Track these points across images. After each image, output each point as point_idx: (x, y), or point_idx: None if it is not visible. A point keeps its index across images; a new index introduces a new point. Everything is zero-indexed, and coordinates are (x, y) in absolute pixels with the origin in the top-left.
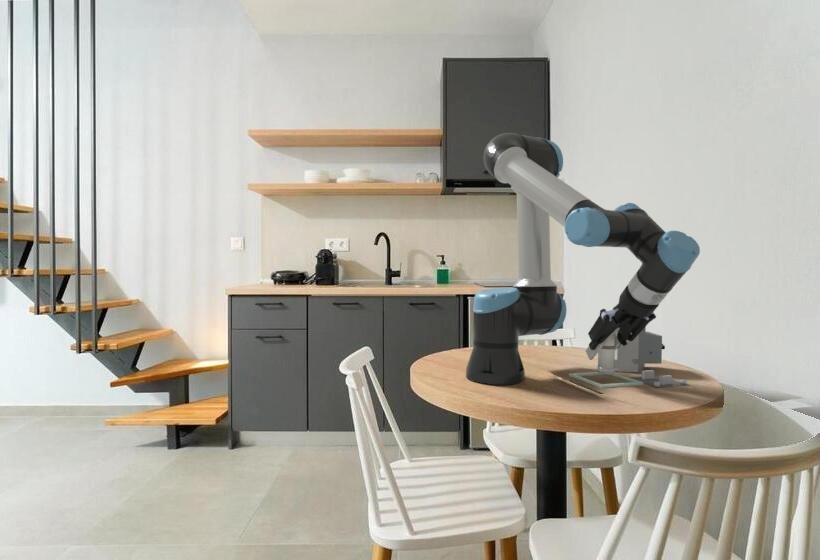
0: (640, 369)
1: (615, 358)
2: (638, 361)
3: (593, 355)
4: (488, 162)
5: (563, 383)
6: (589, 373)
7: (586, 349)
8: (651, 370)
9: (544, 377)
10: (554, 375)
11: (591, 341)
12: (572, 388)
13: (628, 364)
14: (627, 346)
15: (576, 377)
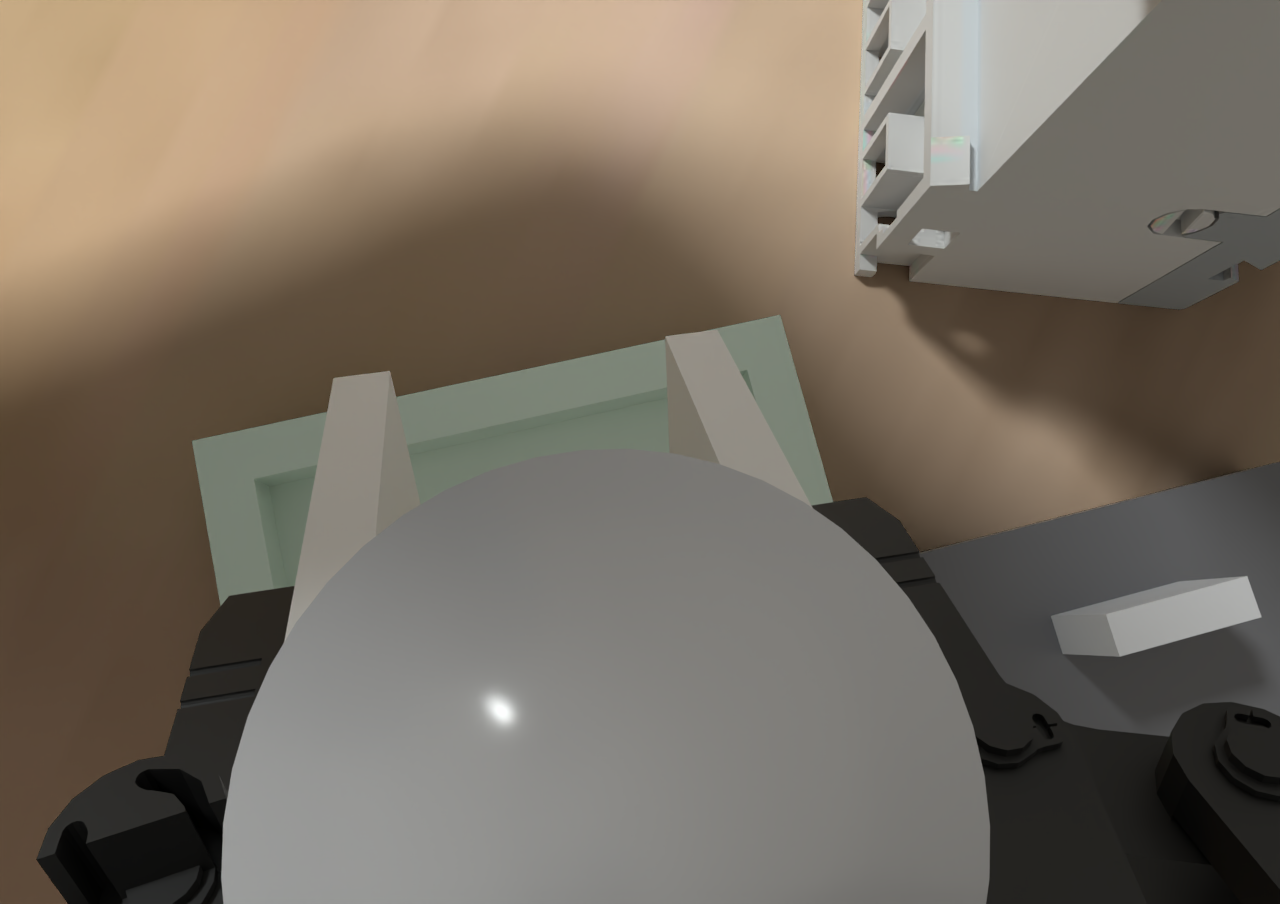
0: (1200, 273)
1: (982, 130)
2: (1244, 231)
3: None
4: None
5: (121, 533)
6: (479, 429)
7: (328, 406)
8: (1230, 602)
9: (21, 248)
10: (194, 165)
11: (178, 744)
12: (117, 767)
13: (1093, 234)
14: (1247, 99)
15: (222, 594)
